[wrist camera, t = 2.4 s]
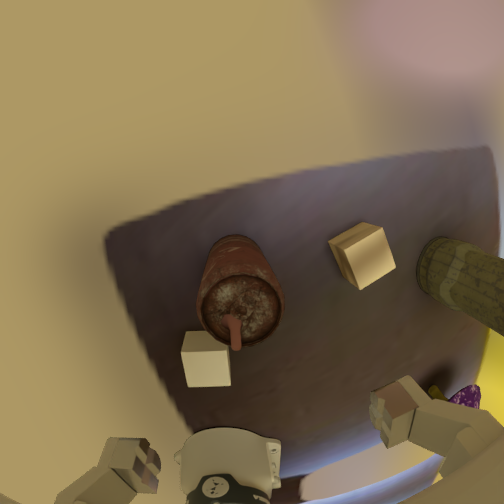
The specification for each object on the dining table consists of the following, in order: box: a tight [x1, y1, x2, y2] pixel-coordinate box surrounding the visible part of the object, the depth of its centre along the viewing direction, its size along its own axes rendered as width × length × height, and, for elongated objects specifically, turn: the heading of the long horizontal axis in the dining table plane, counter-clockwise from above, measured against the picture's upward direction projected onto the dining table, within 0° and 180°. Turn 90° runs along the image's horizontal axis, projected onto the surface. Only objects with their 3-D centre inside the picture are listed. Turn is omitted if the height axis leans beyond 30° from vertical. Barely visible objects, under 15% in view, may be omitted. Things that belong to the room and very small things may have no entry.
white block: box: [181, 331, 231, 387], centre depth 31 cm, size 5×5×5 cm
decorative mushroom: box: [428, 385, 481, 409], centre depth 33 cm, size 12×12×15 cm
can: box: [196, 235, 285, 351], centre depth 25 cm, size 6×6×14 cm
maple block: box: [328, 222, 396, 290], centre depth 30 cm, size 5×5×5 cm
